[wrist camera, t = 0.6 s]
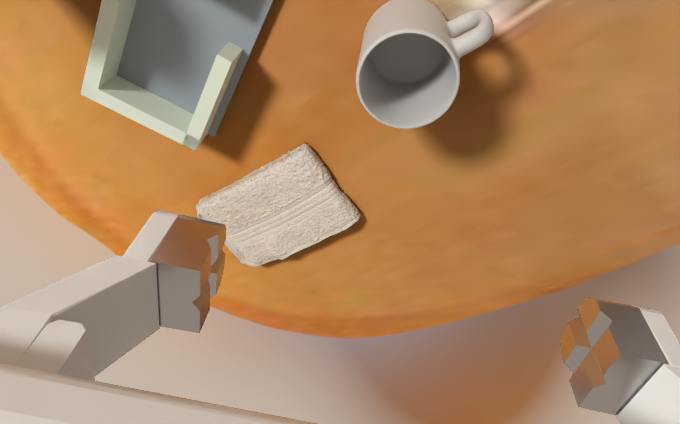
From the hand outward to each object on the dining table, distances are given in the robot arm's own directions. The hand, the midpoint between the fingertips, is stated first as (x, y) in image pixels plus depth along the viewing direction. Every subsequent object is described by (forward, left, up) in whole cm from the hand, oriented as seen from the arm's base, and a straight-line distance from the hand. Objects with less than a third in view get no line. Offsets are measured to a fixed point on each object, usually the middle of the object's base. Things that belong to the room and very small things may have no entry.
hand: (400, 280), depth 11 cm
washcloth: (+31, +1, -42) cm, 53 cm away
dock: (+13, -16, -42) cm, 47 cm away
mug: (+4, +5, -42) cm, 42 cm away
